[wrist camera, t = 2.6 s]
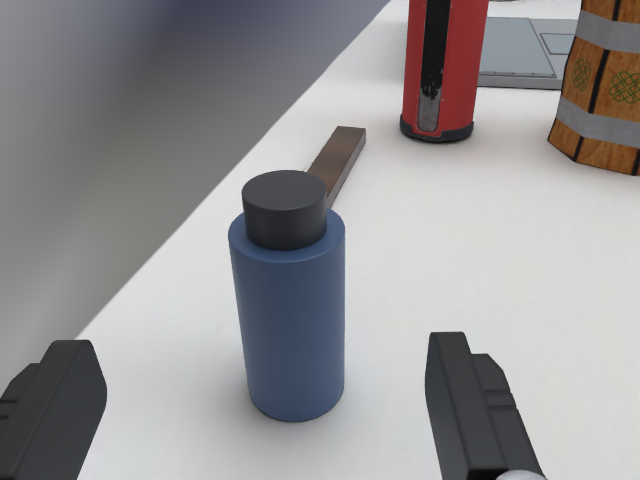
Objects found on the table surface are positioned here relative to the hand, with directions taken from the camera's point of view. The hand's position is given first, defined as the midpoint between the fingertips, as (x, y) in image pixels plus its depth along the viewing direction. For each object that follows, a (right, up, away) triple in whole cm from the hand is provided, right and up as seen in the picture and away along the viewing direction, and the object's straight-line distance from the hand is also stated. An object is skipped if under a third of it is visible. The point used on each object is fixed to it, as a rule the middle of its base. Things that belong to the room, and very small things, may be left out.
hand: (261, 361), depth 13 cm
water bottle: (0, -5, +17) cm, 18 cm away
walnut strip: (+2, +8, +37) cm, 38 cm away
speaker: (+14, +15, +46) cm, 50 cm away
